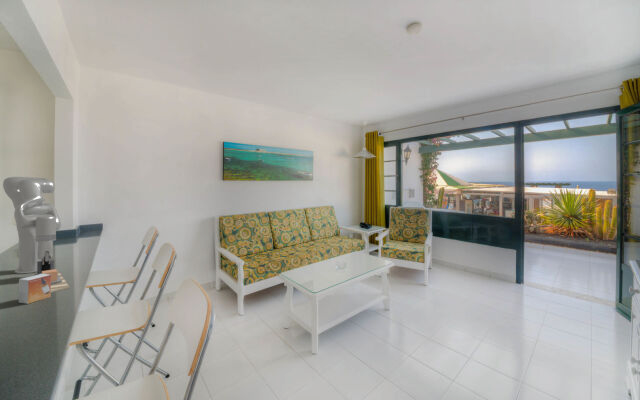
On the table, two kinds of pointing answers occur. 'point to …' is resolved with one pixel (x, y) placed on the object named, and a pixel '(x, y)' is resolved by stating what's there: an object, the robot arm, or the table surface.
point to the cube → (52, 273)
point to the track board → (59, 284)
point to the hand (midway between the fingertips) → (45, 270)
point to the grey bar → (39, 269)
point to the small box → (34, 288)
